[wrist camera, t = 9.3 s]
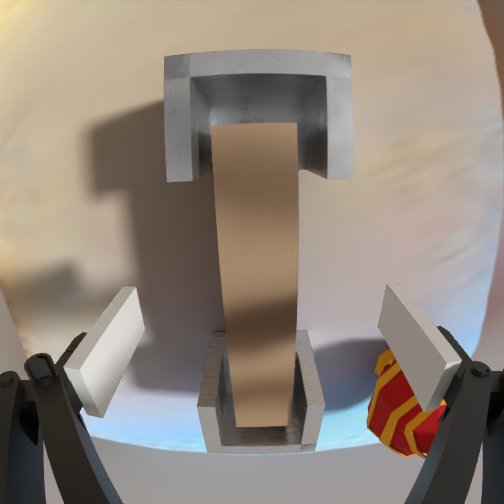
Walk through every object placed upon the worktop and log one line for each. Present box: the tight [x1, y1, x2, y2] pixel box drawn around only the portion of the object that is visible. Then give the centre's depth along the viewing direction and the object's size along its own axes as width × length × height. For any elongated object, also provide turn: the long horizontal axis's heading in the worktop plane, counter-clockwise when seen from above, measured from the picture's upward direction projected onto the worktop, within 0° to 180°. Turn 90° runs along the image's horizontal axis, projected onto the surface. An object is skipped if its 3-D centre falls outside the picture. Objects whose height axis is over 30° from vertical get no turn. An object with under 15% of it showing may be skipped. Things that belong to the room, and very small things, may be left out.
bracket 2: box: [197, 331, 326, 454], centre depth 23 cm, size 6×8×9 cm
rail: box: [211, 123, 299, 427], centre depth 19 cm, size 20×4×5 cm, turn 2°
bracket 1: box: [164, 49, 353, 182], centre depth 16 cm, size 6×8×9 cm
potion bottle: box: [367, 348, 478, 462], centre depth 21 cm, size 10×10×15 cm
